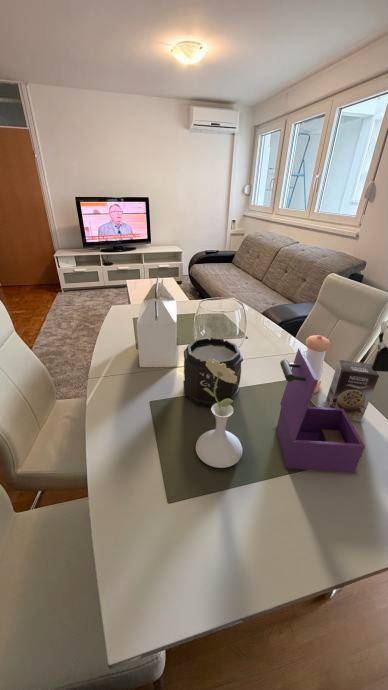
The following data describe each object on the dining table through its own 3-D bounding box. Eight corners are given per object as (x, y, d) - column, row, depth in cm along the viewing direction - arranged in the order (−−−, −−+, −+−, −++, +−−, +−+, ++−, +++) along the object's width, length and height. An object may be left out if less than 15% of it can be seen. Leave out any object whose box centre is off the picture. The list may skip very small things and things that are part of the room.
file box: (334, 433, 80) (343, 408, 76) (354, 473, 69) (365, 446, 65) (276, 430, 81) (281, 405, 77) (286, 469, 70) (292, 442, 65)
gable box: (176, 367, 107) (176, 292, 94) (139, 368, 106) (133, 292, 93) (176, 339, 127) (175, 273, 113) (145, 339, 126) (140, 273, 112)
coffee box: (327, 417, 86) (341, 370, 78) (324, 403, 91) (337, 358, 83) (361, 423, 84) (380, 376, 76) (356, 408, 89) (373, 363, 82)
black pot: (222, 371, 106) (225, 331, 98) (249, 401, 91) (255, 357, 84) (174, 381, 99) (173, 340, 92) (194, 416, 85) (196, 369, 77)
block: (317, 442, 76) (321, 429, 74) (335, 443, 76) (339, 430, 74) (323, 455, 72) (327, 442, 70) (341, 456, 72) (346, 443, 70)
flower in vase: (251, 460, 72) (265, 373, 60) (211, 480, 67) (218, 390, 55) (220, 426, 82) (227, 346, 70) (184, 441, 77) (184, 357, 65)
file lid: (301, 348, 68) (280, 345, 68) (318, 380, 57) (292, 376, 57) (283, 403, 76) (264, 401, 76) (295, 441, 65) (272, 438, 65)
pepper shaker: (293, 389, 97) (305, 337, 88) (297, 378, 103) (309, 328, 94) (317, 396, 94) (331, 343, 85) (320, 384, 100) (334, 333, 91)
